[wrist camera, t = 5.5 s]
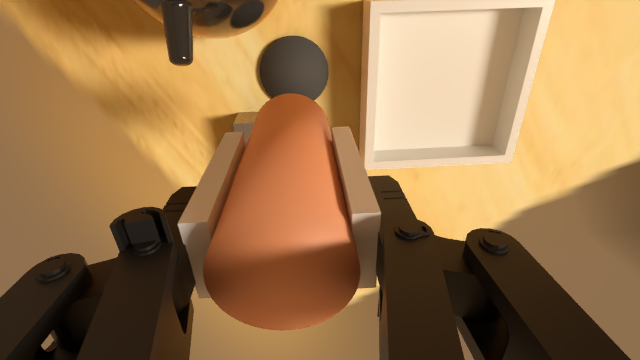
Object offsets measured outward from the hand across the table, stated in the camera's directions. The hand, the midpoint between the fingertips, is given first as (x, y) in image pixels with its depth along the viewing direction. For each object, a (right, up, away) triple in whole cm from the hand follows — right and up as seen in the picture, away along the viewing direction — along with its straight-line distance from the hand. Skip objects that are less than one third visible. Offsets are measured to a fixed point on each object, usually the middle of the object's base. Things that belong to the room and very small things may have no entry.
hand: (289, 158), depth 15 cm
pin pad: (-1, +9, +15) cm, 18 cm away
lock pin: (0, +2, +3) cm, 4 cm away
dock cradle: (+12, +8, +17) cm, 22 cm away
